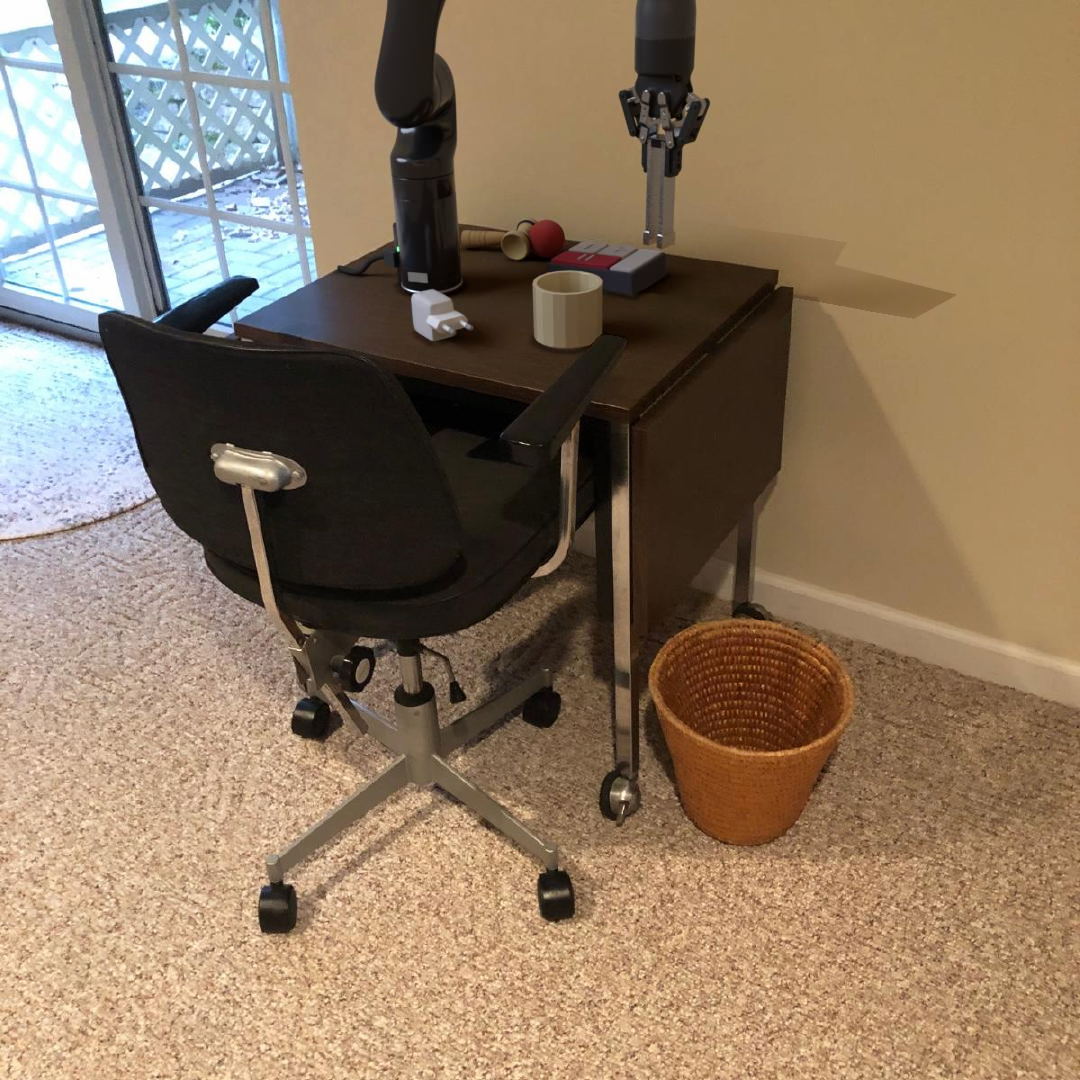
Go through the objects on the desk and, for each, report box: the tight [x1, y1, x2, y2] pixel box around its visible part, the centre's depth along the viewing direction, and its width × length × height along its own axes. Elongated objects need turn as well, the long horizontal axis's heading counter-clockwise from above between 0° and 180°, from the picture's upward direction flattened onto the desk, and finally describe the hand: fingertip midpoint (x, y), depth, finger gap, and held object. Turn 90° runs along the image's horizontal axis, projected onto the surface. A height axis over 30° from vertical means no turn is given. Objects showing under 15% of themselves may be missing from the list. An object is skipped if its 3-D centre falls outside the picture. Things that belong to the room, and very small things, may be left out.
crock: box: [532, 270, 604, 349], centre depth 144 cm, size 9×9×8 cm
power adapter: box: [410, 289, 474, 342], centre depth 145 cm, size 11×5×6 cm, turn 34°
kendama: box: [460, 217, 566, 261], centre depth 176 cm, size 8×6×18 cm
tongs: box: [642, 133, 676, 250], centre depth 144 cm, size 3×3×14 cm
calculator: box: [546, 241, 667, 296], centre depth 164 cm, size 11×4×15 cm
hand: (660, 173), depth 142 cm, fingers closed on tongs, 3 cm apart
